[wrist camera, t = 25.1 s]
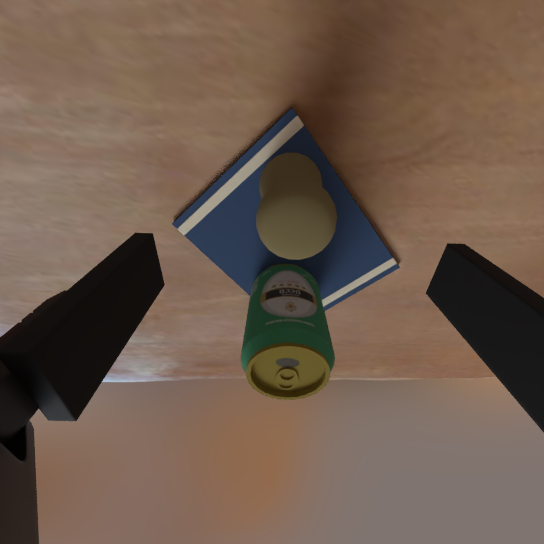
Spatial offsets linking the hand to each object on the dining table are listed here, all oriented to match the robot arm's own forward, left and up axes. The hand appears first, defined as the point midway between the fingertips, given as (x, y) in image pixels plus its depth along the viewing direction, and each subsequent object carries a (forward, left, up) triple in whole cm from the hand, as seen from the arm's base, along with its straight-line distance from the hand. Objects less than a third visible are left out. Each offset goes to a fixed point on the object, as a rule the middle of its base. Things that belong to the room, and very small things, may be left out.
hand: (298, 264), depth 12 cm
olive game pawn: (0, 0, -15) cm, 15 cm away
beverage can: (+9, -8, -15) cm, 19 cm away
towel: (+5, -4, -15) cm, 17 cm away
